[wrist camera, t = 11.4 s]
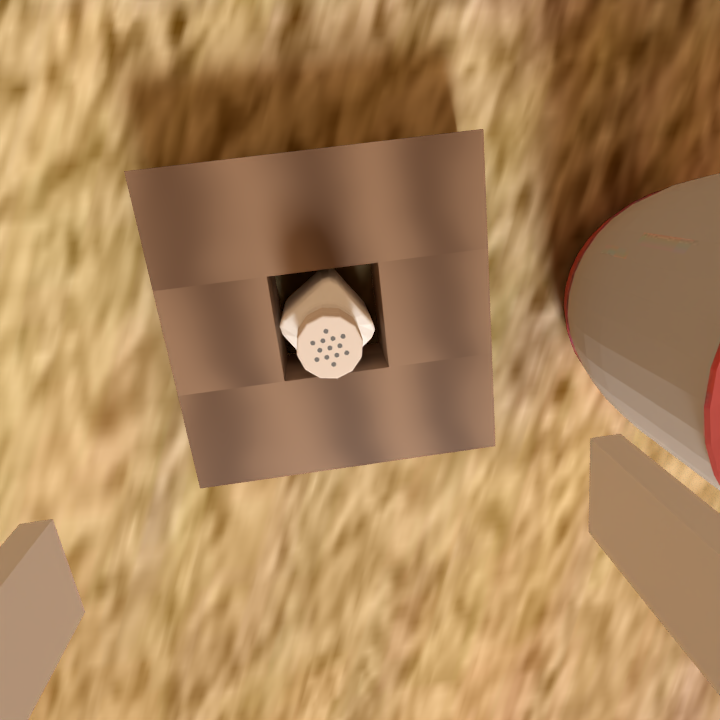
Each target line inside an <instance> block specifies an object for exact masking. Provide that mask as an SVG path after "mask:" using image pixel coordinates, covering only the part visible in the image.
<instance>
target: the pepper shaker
mask: <svg viewBox="0 0 720 720" xmlns="http://www.w3.org/2000/svg"><path fill="white" fill-rule="evenodd" d="M280 329H281V331H282V334H283V335H284V337H285V338H286V339H287V340H288V341H289V342H290V343H291V344H292V345H293V346H294V347H295V349H296V350H297V356H298V358H299V360H300V361H301V363H302V365H303V367H304V368H305V370H307V371H309V372H310V373H312V374H314V375H316V376H317V377H319V378H339V377H341V376H343V375H345V374H347V373H349V372H351V371H353V369H354V368H355V366H356V365H357V363H358V362H359V360H360V359H361V357H362V347H363V346H364V345H365V344H366V343H367V342H368V341H369V340H370V339H371V338H372V336H373V333H374V331H375V327H374V324H373V322H372V319H371V317H370V315H369V312H368V310H367V308H366V305H365V303H364V301H363V300H362V299H361V298H360V297H359V296H358V295H357V294H356V292H355V291H354V290H353V289H352V288H351V287H350V286H349V285H348V284H347V283H346V282H345V280H344V279H343V278H342V277H341V276H340V275H339V274H338V273H337V272H336V271H335V270H334V269H333V268H331V269H323V270H318V271H317V272H316V273H315V274H314V275H313V276H311V277H310V278H309V279H308V280H307V281H306V282H305V283H304V284H303V285H302V286H301V287H300V288H298V289H297V290H296V291H295V292H294V293H293V294H292V295H291V296H290V297H289V298H288V299H287V301H286V303H285V305H284V309H283V313H282V318H281V322H280Z"/></svg>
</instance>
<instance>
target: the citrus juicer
mask: <svg viewBox="0 0 720 720" xmlns="http://www.w3.org/2000/svg"><path fill="white" fill-rule="evenodd" d="M564 310H565V318H566V327H567V331H568V335H569V338H570V341H571V344H572V347H573V349H574V352H575V354H576V355H577V357H578V358H579V360H580V362H581V363H582V365H583V366H584V368H585V370H586V371H587V373H588V374H589V376H590V378H591V379H592V381H593V382H594V384H595V385H596V386H597V388H598V389H599V390H600V392H601V393H602V394H603V395H604V397H605V398H606V399H607V400H608V401H609V402H610V403H611V404H612V405H613V406H614V407H615V408H616V409H617V410H618V411H619V412H620V413H621V414H622V415H623V416H624V417H626V418H627V419H628V420H629V421H630V422H631V423H632V424H633V425H635V426H636V427H637V428H638V429H639V430H640V431H642V432H643V433H644V434H646V435H647V436H648V437H650V438H651V439H652V440H654V441H655V442H656V443H658V444H659V445H660V446H661V447H663V448H664V449H665V450H667V451H668V452H669V453H671V454H672V455H673V456H675V457H676V458H677V459H679V460H680V461H681V462H683V463H684V464H685V465H687V466H688V467H689V468H691V469H692V470H693V471H695V472H696V473H697V474H699V475H700V476H701V477H703V478H704V479H705V480H706V481H708V482H709V483H710V484H712V485H713V486H714V487H716V488H717V489H718V490H720V173H718V174H714V175H710V176H706V177H702V178H698V179H695V180H691V181H687V182H684V183H680V184H676V185H673V186H671V187H669V188H666V189H664V190H662V191H658V192H654V193H651V194H649V195H647V196H645V197H643V198H641V199H639V200H636V201H634V202H632V203H631V204H629V205H628V206H626V207H625V208H624V209H622V210H621V211H619V212H618V213H616V214H615V215H614V216H612V217H611V218H609V219H608V220H607V221H606V222H605V223H603V224H602V225H601V226H600V227H599V228H598V229H597V230H596V231H595V232H594V233H593V234H592V235H591V236H590V237H589V239H588V240H587V241H586V243H585V244H584V246H583V247H582V249H581V250H580V251H579V253H578V255H577V257H576V259H575V261H574V263H573V265H572V267H571V269H570V272H569V276H568V280H567V284H566V287H565V298H564Z"/></svg>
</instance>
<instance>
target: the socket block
mask: <svg viewBox="0 0 720 720" xmlns="http://www.w3.org/2000/svg"><path fill="white" fill-rule="evenodd" d="M124 172H125V176H126V181H127V185H128V189H129V193H130V197H131V201H132V206H133V210H134V214H135V218H136V222H137V226H138V231H139V235H140V239H141V243H142V247H143V252H144V256H145V260H146V264H147V268H148V272H149V277H150V281H151V285H152V289H153V293H154V297H155V302H156V306H157V310H158V314H159V318H160V322H161V327H162V331H163V335H164V339H165V343H166V347H167V352H168V356H169V360H170V364H171V368H172V372H173V377H174V381H175V385H176V389H177V393H178V398H179V402H180V406H181V410H182V414H183V418H184V423H185V427H186V431H187V435H188V439H189V443H190V448H191V452H192V456H193V460H194V464H195V468H196V473H197V477H198V481H199V485H200V488H206V487H213V486H220V485H227V484H234V483H241V482H248V481H255V480H262V479H269V478H276V477H283V476H290V475H297V474H304V473H311V472H318V471H325V470H332V469H339V468H346V467H353V466H360V465H367V464H373V463H380V462H387V461H394V460H401V459H408V458H415V457H422V456H429V455H436V454H443V453H450V452H457V451H464V450H471V449H478V448H485V447H492V446H495V423H494V397H493V371H492V345H491V318H490V292H489V266H488V240H487V214H486V188H485V161H484V135H483V129H479V130H471V131H462V132H454V133H445V134H437V135H428V136H420V137H411V138H403V139H394V140H386V141H377V142H369V143H360V144H352V145H343V146H335V147H327V148H318V149H310V150H301V151H293V152H284V153H276V154H267V155H259V156H250V157H242V158H233V159H225V160H216V161H208V162H199V163H191V164H183V165H174V166H166V167H157V168H149V169H140V170H132V171H124ZM362 264H370V265H371V274H372V284H373V293H374V302H375V311H376V321H377V330H378V339H379V343H373V344H366V345H364V346H363V347H362V357H361V359H360V360H359V362H358V363H357V365H356V366H355V368H354V369H353V371H351V372H349V373H347V374H345V375H343V376H341V377H339V378H319V377H317V376H316V375H314V374H312V373H310V372H309V371H307V370H305V368H304V367H303V365H302V363H301V361H300V360H299V358H298V356H297V354H291V355H288V351H287V344H286V338H285V337H284V335H283V334H282V331H281V329H280V322H281V318H282V314H281V308H280V302H279V296H278V290H277V284H276V278H275V276H276V275H284V274H292V273H299V272H307V271H315V270H323V269H331V268H339V267H346V266H354V265H362Z"/></svg>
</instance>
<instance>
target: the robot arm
mask: <svg viewBox="0 0 720 720" xmlns="http://www.w3.org/2000/svg"><path fill="white" fill-rule="evenodd" d="M589 533H590V534H591V535H592V537H593V538H594V539H595V540H596V542H597V543H598V544H599V545H600V547H601V548H602V549H603V550H604V552H605V553H606V554H607V555H608V557H609V558H610V559H611V560H612V562H613V563H614V564H615V565H616V567H617V568H618V569H619V570H620V572H621V573H622V574H623V575H624V577H625V578H626V579H627V580H628V582H629V583H630V584H631V585H632V587H633V588H634V589H635V590H636V592H637V593H638V594H639V595H640V597H641V598H642V599H643V600H644V602H645V603H646V604H647V605H648V607H649V608H650V609H651V610H652V612H653V613H654V614H655V615H656V617H657V618H658V619H659V620H660V622H661V623H662V624H663V625H664V627H665V628H666V629H667V630H668V632H669V633H670V634H671V635H672V637H673V638H674V639H675V640H676V642H677V643H678V644H679V645H680V647H681V648H682V649H683V650H684V652H685V653H686V654H687V655H688V657H689V658H690V659H691V660H692V662H693V663H694V664H695V665H696V667H697V668H698V669H699V670H700V672H701V673H702V674H703V675H704V677H705V678H706V679H707V680H708V682H709V683H710V684H711V685H712V687H713V688H714V689H715V690H716V691H717V693H718V694H719V695H720V514H719V513H718V512H717V511H716V510H714V509H713V508H712V507H711V506H709V505H708V504H707V503H706V502H704V501H703V500H702V499H701V498H699V497H698V496H697V495H696V494H694V493H693V492H692V491H691V490H690V489H688V488H687V487H686V486H685V485H683V484H682V483H681V482H680V481H678V480H677V479H676V478H675V477H673V476H672V475H671V474H670V473H668V472H667V471H666V470H665V469H663V468H662V467H661V466H660V465H658V464H657V463H656V462H655V461H653V460H652V459H651V458H650V457H648V456H647V455H646V454H645V453H644V452H642V451H641V450H640V449H639V448H637V447H636V446H635V445H634V444H632V443H631V442H630V441H629V440H627V439H626V438H625V437H624V436H622V435H621V434H616V435H609V436H603V437H596V438H590V487H589ZM84 613H85V610H84V607H83V604H82V602H81V599H80V596H79V593H78V590H77V587H76V584H75V582H74V579H73V576H72V573H71V570H70V567H69V565H68V562H67V559H66V556H65V553H64V550H63V547H62V545H61V542H60V539H59V536H58V533H57V530H56V527H55V525H54V522H53V519H50V520H44V521H37V522H30V523H24V524H19V525H18V527H17V528H16V529H15V530H14V531H13V532H12V534H11V535H10V536H9V537H8V538H7V539H6V541H5V542H4V543H3V544H2V545H1V546H0V720H28V719H29V717H30V715H31V713H32V711H33V709H34V708H35V706H36V704H37V702H38V700H39V698H40V696H41V694H42V692H43V690H44V689H45V687H46V685H47V683H48V681H49V679H50V677H51V675H52V673H53V672H54V670H55V668H56V666H57V664H58V662H59V660H60V658H61V656H62V654H63V653H64V651H65V649H66V647H67V645H68V643H69V641H70V639H71V637H72V635H73V634H74V632H75V630H76V628H77V626H78V624H79V622H80V620H81V618H82V617H83V615H84Z"/></svg>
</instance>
